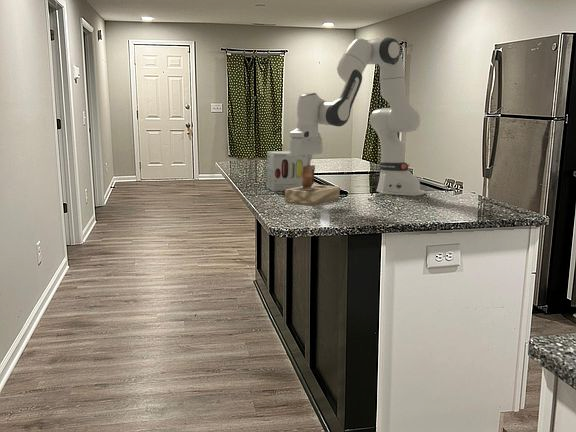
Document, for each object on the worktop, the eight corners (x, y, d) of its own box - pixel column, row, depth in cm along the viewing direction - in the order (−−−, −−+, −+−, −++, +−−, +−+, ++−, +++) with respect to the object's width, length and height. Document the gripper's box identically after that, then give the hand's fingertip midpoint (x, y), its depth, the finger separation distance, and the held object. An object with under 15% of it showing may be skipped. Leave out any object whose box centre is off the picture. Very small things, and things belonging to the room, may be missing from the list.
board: (339, 197, 258) (339, 186, 257) (313, 204, 240) (313, 192, 239) (312, 195, 266) (312, 183, 265) (285, 201, 248) (285, 189, 247)
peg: (313, 198, 250) (314, 165, 247) (308, 199, 246) (308, 166, 243) (305, 197, 252) (305, 165, 249) (300, 198, 248) (300, 166, 246)
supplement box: (272, 191, 276) (273, 153, 272) (266, 187, 288) (266, 151, 285) (307, 190, 280) (308, 152, 277) (300, 186, 293) (300, 150, 290)
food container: (293, 182, 309) (293, 163, 307) (304, 181, 311) (304, 163, 309) (304, 185, 298) (304, 165, 296) (314, 184, 300) (315, 165, 298)
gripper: (313, 131, 254) (313, 163, 256) (287, 133, 237) (287, 167, 240) (326, 132, 251) (325, 164, 253) (300, 133, 234) (300, 168, 236)
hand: (306, 165), depth 246 cm, fingers closed, pressing on peg
